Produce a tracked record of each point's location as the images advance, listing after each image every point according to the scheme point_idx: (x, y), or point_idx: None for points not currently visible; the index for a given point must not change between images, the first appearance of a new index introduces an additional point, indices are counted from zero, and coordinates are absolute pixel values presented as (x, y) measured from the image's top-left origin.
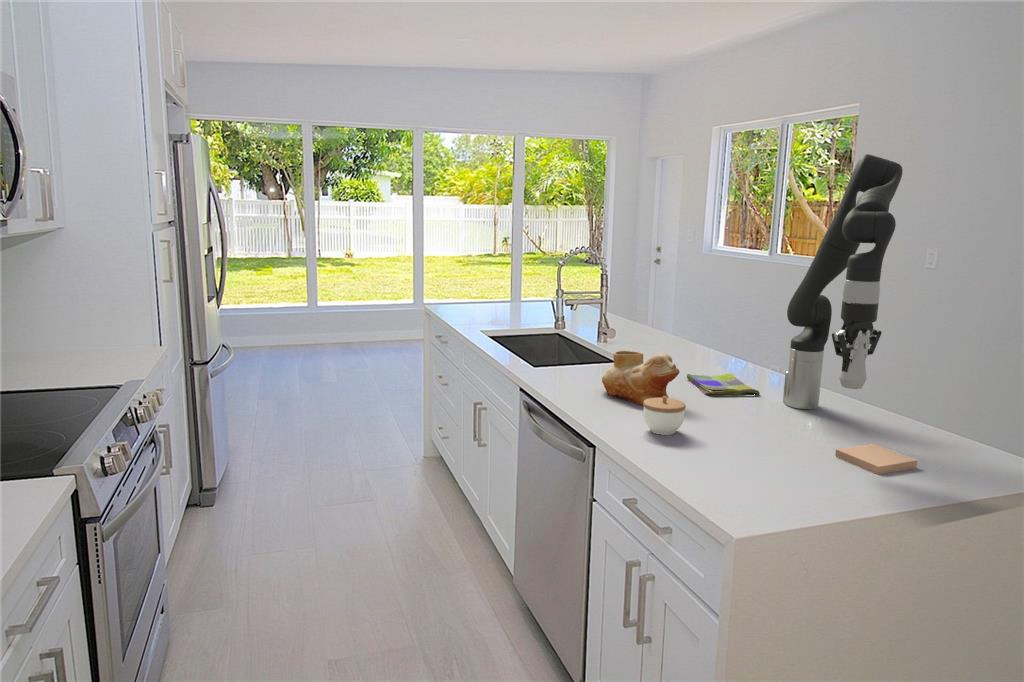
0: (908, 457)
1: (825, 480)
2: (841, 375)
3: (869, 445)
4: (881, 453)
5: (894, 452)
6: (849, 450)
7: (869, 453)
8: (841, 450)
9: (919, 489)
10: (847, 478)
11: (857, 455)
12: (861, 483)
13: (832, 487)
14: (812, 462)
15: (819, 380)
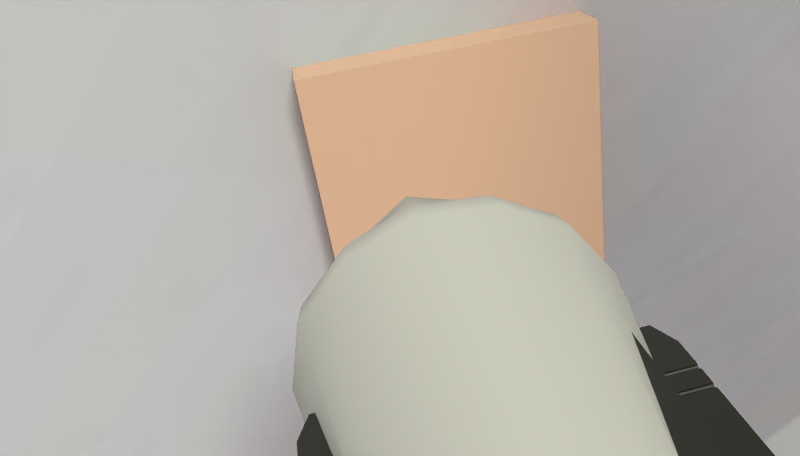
0: (595, 242)
1: (43, 362)
2: (300, 375)
3: (547, 46)
4: (508, 178)
5: (589, 172)
6: (364, 111)
7: (444, 170)
8: (314, 105)
9: None
10: (169, 347)
11: (355, 190)
12: (201, 397)
13: (37, 428)
14: (95, 141)
15: None
